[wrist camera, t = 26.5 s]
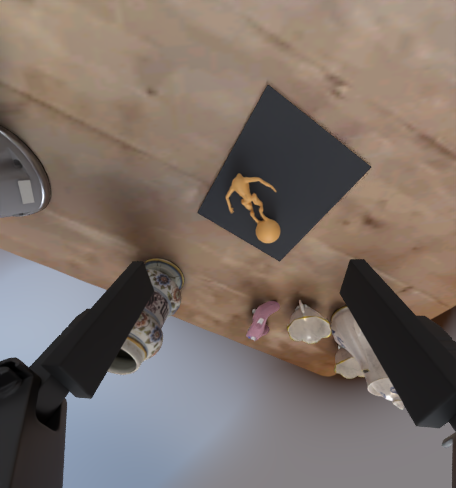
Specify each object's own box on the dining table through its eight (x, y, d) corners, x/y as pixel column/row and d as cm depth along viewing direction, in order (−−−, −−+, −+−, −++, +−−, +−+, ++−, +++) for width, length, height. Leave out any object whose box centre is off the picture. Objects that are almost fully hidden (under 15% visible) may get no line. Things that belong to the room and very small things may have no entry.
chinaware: (269, 304, 45) (271, 387, 31) (332, 268, 36) (372, 362, 22) (344, 354, 51) (371, 440, 38) (413, 335, 42) (481, 438, 29)
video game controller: (263, 292, 43) (249, 311, 37) (282, 302, 41) (270, 324, 36) (253, 319, 48) (240, 340, 42) (269, 329, 46) (258, 352, 41)
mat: (197, 212, 33) (197, 212, 33) (267, 84, 23) (267, 84, 23) (279, 260, 36) (279, 261, 36) (370, 166, 27) (371, 167, 26)
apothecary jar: (146, 243, 37) (73, 320, 22) (198, 272, 40) (165, 360, 24) (129, 279, 43) (61, 360, 28) (175, 303, 46) (136, 389, 30)
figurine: (299, 230, 30) (270, 160, 29) (291, 242, 25) (255, 157, 24) (255, 245, 35) (229, 185, 34) (241, 257, 30) (210, 187, 29)
